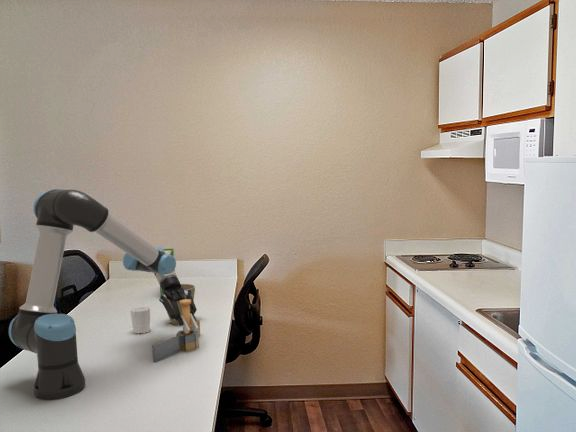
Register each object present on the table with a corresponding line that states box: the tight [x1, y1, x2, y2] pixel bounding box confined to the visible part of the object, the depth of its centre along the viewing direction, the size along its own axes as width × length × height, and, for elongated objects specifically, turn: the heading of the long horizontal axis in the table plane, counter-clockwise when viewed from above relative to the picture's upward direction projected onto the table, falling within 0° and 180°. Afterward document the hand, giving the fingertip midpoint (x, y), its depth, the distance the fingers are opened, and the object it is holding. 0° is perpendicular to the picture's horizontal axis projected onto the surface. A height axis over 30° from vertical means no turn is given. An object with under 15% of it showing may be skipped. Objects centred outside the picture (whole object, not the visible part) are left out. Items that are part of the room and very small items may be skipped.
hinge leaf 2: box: [181, 319, 201, 353], centre depth 212 cm, size 8×21×6 cm, turn 175°
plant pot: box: [161, 283, 196, 326], centre depth 240 cm, size 15×15×16 cm
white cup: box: [130, 305, 151, 335], centre depth 229 cm, size 8×8×10 cm
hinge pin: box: [179, 299, 191, 335], centre depth 205 cm, size 4×4×17 cm
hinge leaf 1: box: [151, 329, 199, 363], centre depth 201 cm, size 20×8×6 cm, turn 145°
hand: (192, 330), depth 203 cm, fingers closed on hinge pin, 3 cm apart
